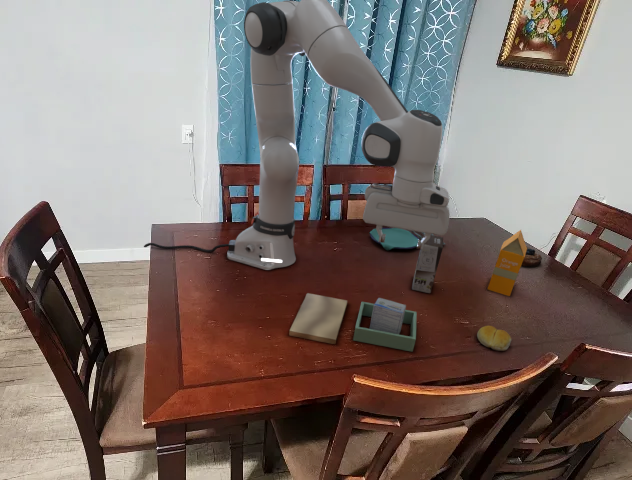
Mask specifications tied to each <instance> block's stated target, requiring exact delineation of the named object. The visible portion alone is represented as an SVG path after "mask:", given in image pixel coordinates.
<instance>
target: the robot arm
mask: <svg viewBox="0 0 632 480" xmlns="http://www.w3.org/2000/svg"><path fill="white" fill-rule="evenodd" d="M243 32H244V36H245V39H246V42H247V44H248V45H249V47H250V62H249V63H250V81H251V90H252V98H253V107H254V115H255V122H256V123H255V125H256V131H257V139H258V146H259V147H258V148H259V190H258V211H257V212H255V213H254V216H253V217H252V219H251V226H249V227H248V228H246V229H244V230H242V231H241V232H240V233H239V234H238V235H237V236H236V238H235V239H229V242H228V243H223V244H218V245H216V246H215V245H214V247H213V248H212V249H204V248H201V247H199V246H196V245H189V244H188V245H187V244H186V245H185V244H184V245H172V246H170V245H167V246H166V245H161V244H158V243H154V242H148V243H146V244H144V245H143V248H148V247H150V246H152V247H155V248H159V249H163V250H176V249H193V250H197V251H200V252H204V253H214V252H215V251H216V250H218V249H220V248H227V247H228V250H227V254H226V258H227V259H228V260H230V261H234V262H237V263H240V264H244V265H248V266H251V267H255V268H257V269H261V270H263V271H264V270H265V271H271V270H274V269H278V268H279V269H280V268H286V267H289V266H291V265H293V264H295V262H296V261H297V258H296V253H295V245H294V236H295V233H296V219H295V204H296V193H297V187H298V186H297V185H298V178H299V169H300V156H299V153H298V149H297V145H296V144H297V143H296V112H295V111H296V110H295V98H294V97H295V96H294V83H293V71H292V62H293V59H294V57H296V55H299V56H301V57H304V56H306V58H307V60H308V61H309V63H310V65H311V67H312V69H313V70H314V72H315V73H316V74H317V75H318V77H320V79H321V80H322V81H323V82H324V83H326V84H327V85H328V86H330V87H333V88H335V89H339V90H342V91H346V92H348V93H351V94H353V95H356V96H358V97H360V98H362V99H363V100H364V101H365V102H366V103H367V104H368V105H369V106H370V107H371V109H372V110H373V112H374V114H376V116H377V117H378V119H379V121H375V122H372V123H370V124H369V125H368V126H367V127H366V128H365V130H364V131H363V134H362V136H361V143H360V145H361V151H362V154H363V157H364V158H365V160H366V161H367V162H368V163H369V164H370V165H373V166H377V167H390V168H391V167H392V168H393V169H394V174H393V180H392V185H388V184H379V183H372V184H370V185H368V186H367V187H366V188H365V191H364V199H365V201H366V203H365V207H364V210H363V214H362V220H363V221H364V223H366V224H370V225H376V227H375V229H376V230H377V232H378V235H379V241H378V242H382V243H384V242H385V236H386V234H383V233H382V230H381V229H382V228H383V227H387V228H400V229H404V230H407V231H412V232H413V231H414V232H419V233H421V232H424V233H425V235H424V234H423V236H425V237H424V238H423V237H422V238H423V239H420V240H418V244H417V247H416V249H417V250H420V249H423V246H424V243H425V242H426V241H427V240H428V239H429V238H430V236H431V234H433V235H435V236H444V235H446V234H447V233H448V230H449V224H450V207H449V203H450V193H449V191H448V190H447V189H446V188H444V187H442V186H440V185H438V184H436V183H434V179H435V173H434V172H435V167H436V164H437V163H438V161H439V156H440V152H441V147H442V140H443V139H442V138H443V123H442V120H441V119H440V118H439V117H438V116H437V115H436V114H433V113H432V112H429V111H425V110H422V109H411V110H408V109H407V108H406V107H405V105H404V104H403V102H402V101H401V99H400V98H399V96H397V94H396V93H395V91H394V90H393V88H392V87H391V85H390V84H389V83H388V81H387V80H386V79H385V77H384V76H383V74H382V73H381V72H380V71H379V70H378V69H377V67H376V65H374V64H373V63H372V61H371V60H370V59H369V57H368V56H367V55H366V53H364V51H363V50H362V48H361V47H360V45H359V44H358V42H357V40H356V39H355V37H354V36H353V33H351V30H350V29H349V27H348V26H347V24H346V22H345V21H344V20H343V19H342V17H341V16H340V14H339V13H338V12H337V10H336V9H335V8H334V6H333V5H332V4H331V2H329V1H328V0H300V1H297V0H283V1H273V2H265V1H263V2H259V3H255V4H253V5H251V6H250V7H248V9H247V11H246V12H245V16H244V20H243Z"/></svg>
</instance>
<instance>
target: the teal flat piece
mask: <svg viewBox="0 0 632 480" xmlns="http://www.w3.org/2000/svg"><path fill="white" fill-rule="evenodd" d="M381 230H382V233H383V234H386V236H385V242H384V243H382V242H378V241H379V235H378V232H377V230H376V228H373V229H372V230H370V232H369V237H370V238H371V240H372V241H374V242H375V243H376V244H379V245H381V246H382V248H383V249H384V250H386V251H391V250H392V249H396V250H411V249H415V248H417V244H418V240H422V239H423V236H422V235H424V234H425V233H424V232H420V233H421V234H422V235H421V234H419V233H417V232H416V231H412V230H406V229H400V228H394V227H382V229H381ZM412 232H413V233H412ZM431 235H433V236H435V234H431ZM443 245H446V243H445V242H444V241H443Z"/></svg>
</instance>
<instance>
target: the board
mask: <svg viewBox="0 0 632 480" xmlns="http://www.w3.org/2000/svg"><path fill="white" fill-rule="evenodd" d="M347 305H348V300H346V299H340V298H335V297H331V296H326V295H319V294H314V293H309V292H307V293H306V294H305V297H304V299H303V301H302V303H301V305H300V307H299V309H298V312H297V314H296V316H295V318H294V320H293V322H292V324H291V327H290V329H289V331H288V332H289V333H288V336H291V337H295V338H299V339H300V338H301V339H306V340H310V341H315V342H321V343H327V344H332V345H336V343H337V340H338V336H339V333H340V329H341V326H342V323H343V319H344V316H345V313H346V309H347Z"/></svg>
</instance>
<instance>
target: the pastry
mask: <svg viewBox="0 0 632 480" xmlns="http://www.w3.org/2000/svg"><path fill="white" fill-rule="evenodd" d="M526 247H527V251H526V254H525V257H524V259H523V262H522V265H521V267H522V268H536V267H539V266H540V265H541V263H542V260H543V257H542V255H541V254H540V253H538V252H536V250H535V249H533V248H532V247H530V246H528V245H526Z"/></svg>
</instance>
